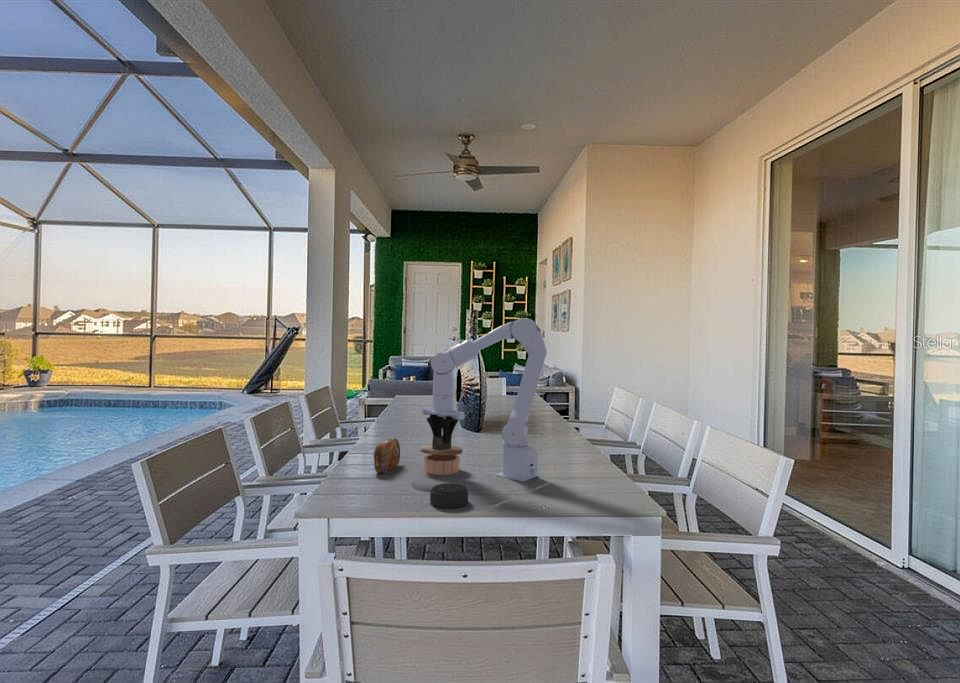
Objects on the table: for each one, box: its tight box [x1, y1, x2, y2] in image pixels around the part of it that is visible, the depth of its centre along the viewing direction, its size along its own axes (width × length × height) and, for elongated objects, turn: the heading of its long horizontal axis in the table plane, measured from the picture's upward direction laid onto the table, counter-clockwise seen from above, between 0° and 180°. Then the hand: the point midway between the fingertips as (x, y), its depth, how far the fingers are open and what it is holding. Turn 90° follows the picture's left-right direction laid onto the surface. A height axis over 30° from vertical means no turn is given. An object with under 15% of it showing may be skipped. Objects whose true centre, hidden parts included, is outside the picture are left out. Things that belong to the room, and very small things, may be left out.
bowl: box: [423, 454, 461, 476], centre depth 163 cm, size 10×10×4 cm
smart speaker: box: [429, 484, 469, 510], centre depth 133 cm, size 9×9×4 cm
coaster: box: [410, 476, 466, 493], centre depth 148 cm, size 14×14×1 cm
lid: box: [420, 434, 464, 455], centre depth 163 cm, size 12×12×4 cm
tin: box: [373, 438, 401, 474], centre depth 164 cm, size 15×3×8 cm, turn 168°
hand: (442, 442), depth 163 cm, fingers closed on lid, 3 cm apart
